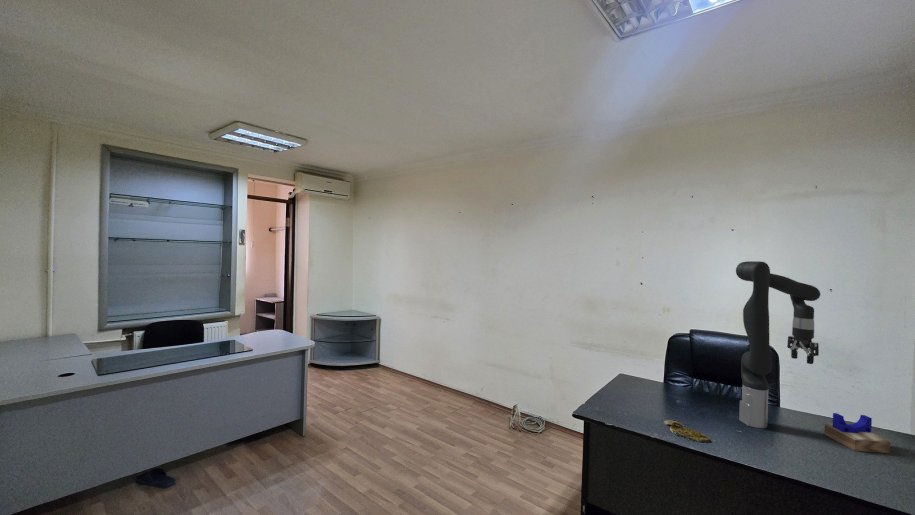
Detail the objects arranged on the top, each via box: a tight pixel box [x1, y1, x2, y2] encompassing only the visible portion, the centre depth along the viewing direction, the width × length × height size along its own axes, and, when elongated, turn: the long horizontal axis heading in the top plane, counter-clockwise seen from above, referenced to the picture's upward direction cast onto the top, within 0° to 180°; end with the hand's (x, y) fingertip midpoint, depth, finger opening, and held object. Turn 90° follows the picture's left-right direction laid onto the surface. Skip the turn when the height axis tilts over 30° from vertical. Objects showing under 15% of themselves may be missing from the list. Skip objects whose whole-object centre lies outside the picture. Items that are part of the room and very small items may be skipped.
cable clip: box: [832, 412, 873, 433], centre depth 151 cm, size 12×4×6 cm, turn 83°
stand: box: [824, 422, 891, 454], centre depth 150 cm, size 13×13×5 cm
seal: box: [669, 421, 711, 443], centre depth 154 cm, size 9×5×15 cm
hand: (801, 361), depth 171 cm, fingers open, 8 cm apart
